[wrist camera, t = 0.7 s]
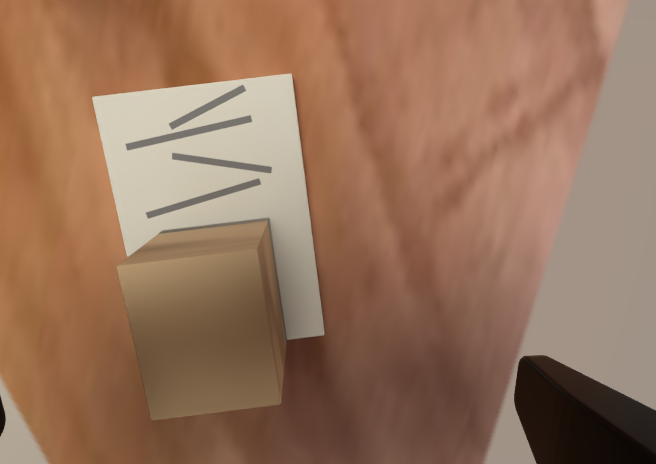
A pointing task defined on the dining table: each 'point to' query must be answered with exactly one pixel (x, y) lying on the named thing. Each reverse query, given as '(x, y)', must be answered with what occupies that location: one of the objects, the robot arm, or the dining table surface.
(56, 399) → the dining table surface
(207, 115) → the board
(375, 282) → the dining table surface
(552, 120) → the dining table surface
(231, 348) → the block
